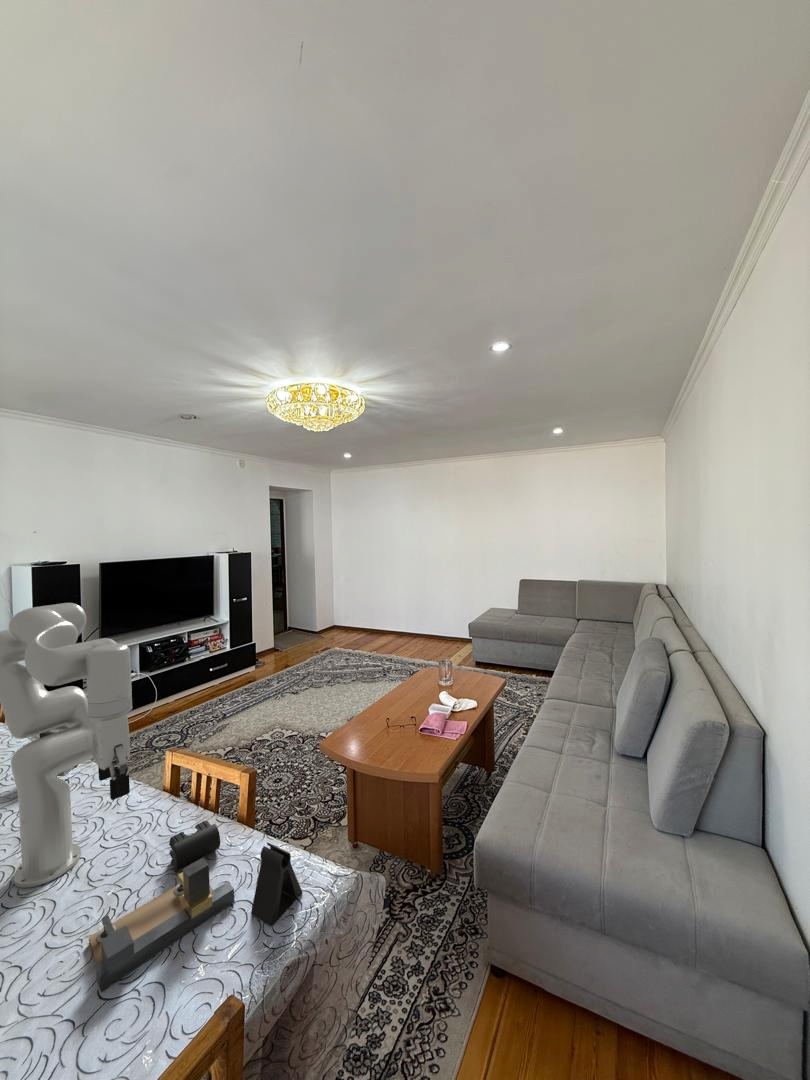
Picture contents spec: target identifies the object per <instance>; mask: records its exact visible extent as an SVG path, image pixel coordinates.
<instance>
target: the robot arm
mask: <svg viewBox="0 0 810 1080" xmlns="http://www.w3.org/2000/svg"><path fill="white" fill-rule="evenodd" d="M86 625H87V615H86V612H85V610H84V608H83V607H81V606H80V605H78V604H77V603H74V602H63V603H56V604H50V605H49V604H48V605H41V606H35V607H30V608H26V609H23V610H21V611H19V612H17V613H15V615H13V617H11V619H10V621H9V623H8V629H5V630H0V706H1V709H2V712H3V715H4V720H5V722H6V724H7V728H8V730H9V733H10V734H11V736H12V737H14V738H15V739H18V740H21V739H27V738H31V737H34V736H37V735H40V734H41V733H44V732H46V731H49V730H52V729H55V728H58V727H61V726H63V725H66V726H67V727H68V729H65V730H62V731H59V732H56V733H53V734H51V735H48V736H45V737H42V738H40V737H39V738H37V739H35V740H32V741H31V742H28V743H26V744H24V745H23V746H20V747H19V748H18V749H17V750H16V751H15V753H14V754H13V755H12V757H11V760H10V766H11V767H10V768H11V772H12V776H13V779H14V783H15V786H16V787H15V788H16V793H17V802H18V817H19V832H20V833H19V835H20V837H19V839H20V857H21V864H20V865H19V866H18V868H17V869H16V870H15V871H14V873H13V879H12V880H13V884H14V886H17V887H18V888H33V887H38V886H41V885H44V884H46V883H49V882H51V881H54V880H56V879H57V878H59V877H60V876H62V875H63V874H65V873H66V872H68V871H69V870H70V869H72V868H73V867H74V866H75V865H76V864H77V862H78V861H79V860H80V858H81V856H82V849H81V847H80V846H79V845H78V844H76V843H74V842H73V826H72V822H73V821H72V804H71V803H72V802H71V788H70V786H69V784H68V783H67V782H66V781H63V780H61V779H59V778H57V775H58V774H59V773H61V772H63V771H65V770H67V769H69V768H72V767H74V766H76V765H79V764H83V763H86V762H87V761H90V760H91V759H93V760H94V762H95V763H96V765H97V767H98V768H97V769H98V771H97V772H98V781H104V780H108V779H109V795H110V796H109V797H110V800H111V801H113V800H117V799H118V798H122V797H123V796H127V795H129V793H130V791H131V790H130V789H131V788H130V772H129V766H128V761H129V760H130V758H131V743H130V741H131V739H130V728H129V718H128V713H129V712H131V711H132V710H133V697H132V695H133V693H132V692H133V691H132V690H133V689H132V688H133V687H132V666H131V664H132V663H131V649H130V647H129V646H128V645H126V644H124V643H117V642H116V641H115V640H113V639H112V638H109V637H107V638H105V637H104V638H98V639H93V640H88V641H83V642H77V641H78V637H80V635H81V634H82V633H83V631H84V629H85V628H86ZM22 661H24V664H25V665H24V664H20V662H22ZM82 679H86V692H87V693H85V691H84V690H83V689H82V688H80V687H79V686H74V685H71V686H64V687H60V688H56V689H54V690H50V691H48V690H47V689H46V688H45V686H48V687H57V686H63V685H66V684H68V683H72V682H76V681H79V680H82Z"/></svg>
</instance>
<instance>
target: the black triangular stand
mask: <svg viewBox="0 0 810 1080" xmlns="http://www.w3.org/2000/svg"><path fill="white" fill-rule="evenodd" d="M267 846H269V847H267ZM267 846H265V845H264V846H262V849H261V851H260V867H259V871H258V877H257V882H256V888H255V891H254V896H253V901H252V907H251V911H250V914H251V915H252V916H254V917H255V918H256V919H258V920H260V921H262V922H263V923H265V924H266V925H268V926H270V927H271V928H272V927H273V926H274V925H275V924H276V923H277V922H278V921H279V920H280V919H281V917H283V915H284V914H286V912H287V911H288V910H289V909H290V908H291V907H292V906H293V905H294V904H295V903H296V901H298V900H299V898H300V897H301V896H302V895H303V890H302V887H301V885H300V884H299V883H300V882H299V880H298V877H297V875H296V873H295V871H294V868H293V866H292V863H291V861H292V860H291V859H292V855H291V853H290V852H289V851H286V850H284V848H283V849H282V848H280V847H278V846H276V845H274V844H272V843H270V842H268V843H267Z"/></svg>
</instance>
